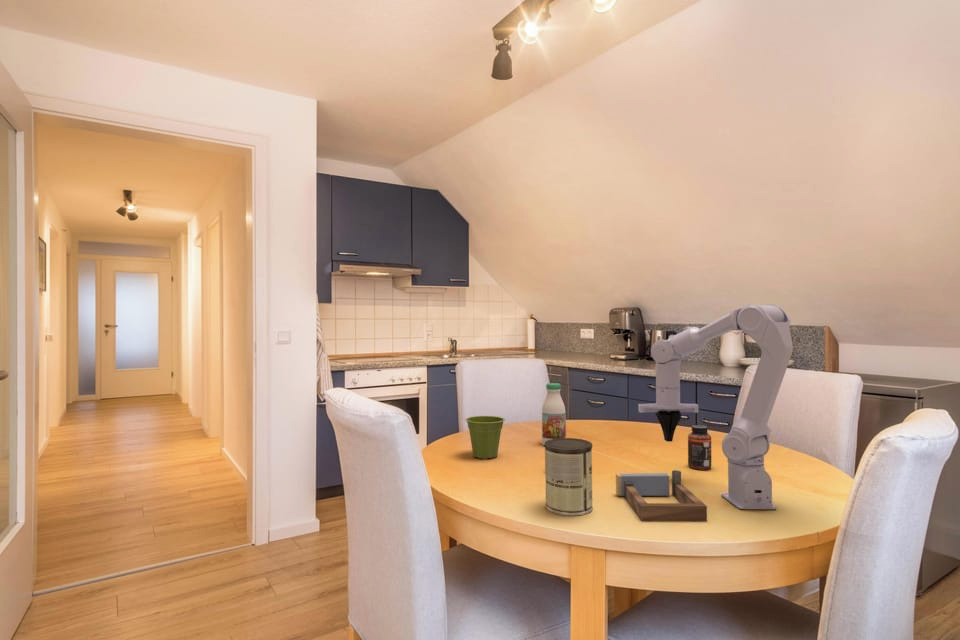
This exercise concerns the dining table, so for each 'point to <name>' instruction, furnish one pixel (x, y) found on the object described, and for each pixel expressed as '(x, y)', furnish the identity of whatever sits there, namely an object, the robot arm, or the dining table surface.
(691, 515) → the wooden u-shaped frame
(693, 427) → the supplement bottle
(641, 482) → the gate
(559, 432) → the milk bottle
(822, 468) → the dining table surface
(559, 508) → the coffee can
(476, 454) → the plant pot
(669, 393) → the robot arm
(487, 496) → the dining table surface
